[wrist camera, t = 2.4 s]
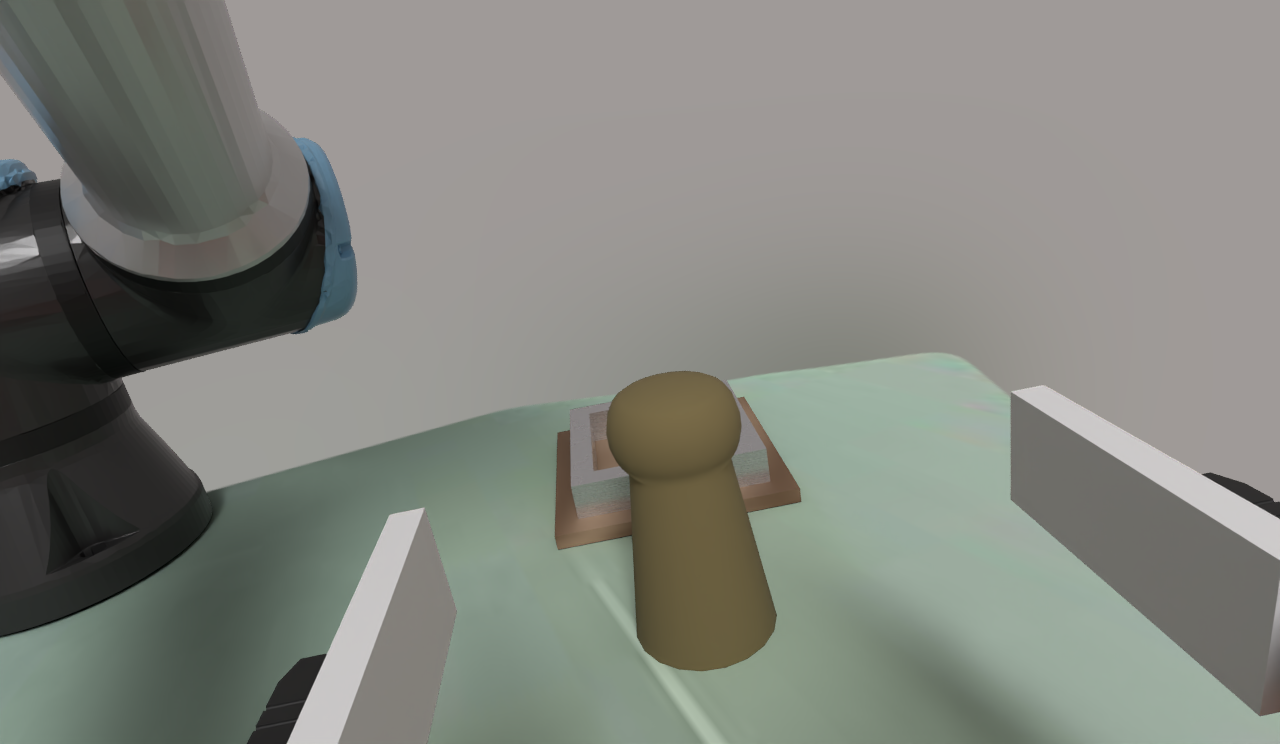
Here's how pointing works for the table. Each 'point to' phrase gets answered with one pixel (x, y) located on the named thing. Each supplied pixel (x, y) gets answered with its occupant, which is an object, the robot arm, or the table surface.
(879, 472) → the table surface
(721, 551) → the cork
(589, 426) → the coaster
